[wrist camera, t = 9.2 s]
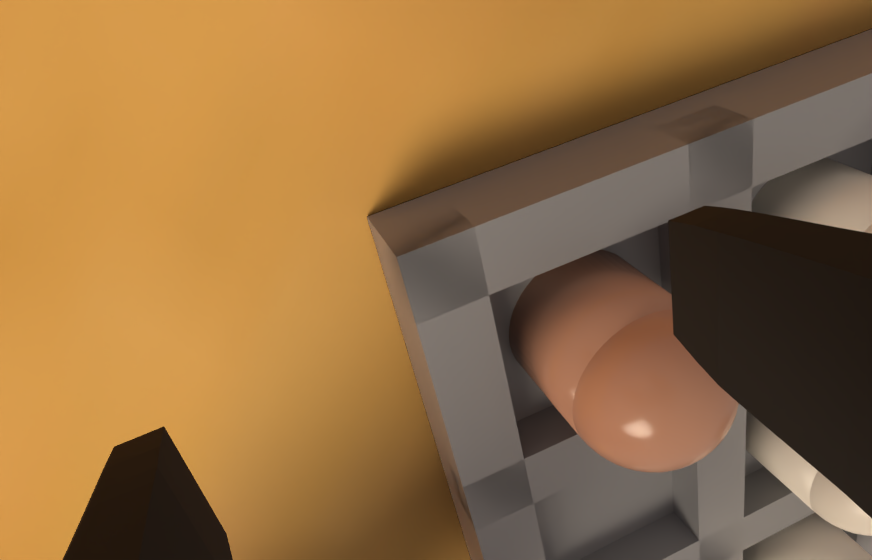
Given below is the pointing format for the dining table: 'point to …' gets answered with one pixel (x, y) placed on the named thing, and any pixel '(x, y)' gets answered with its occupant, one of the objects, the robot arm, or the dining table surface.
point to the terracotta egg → (618, 365)
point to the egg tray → (649, 253)
